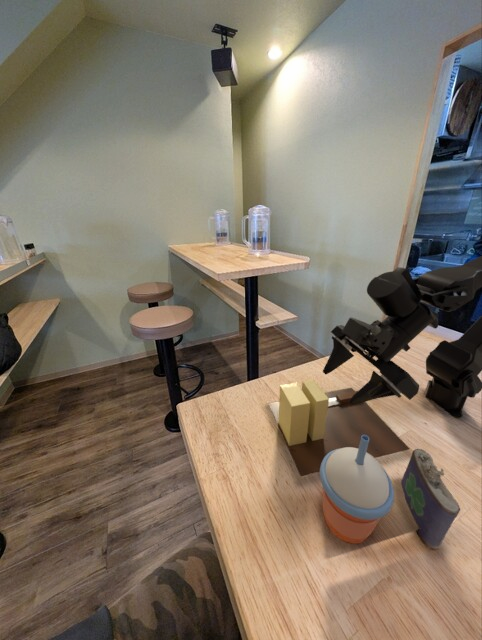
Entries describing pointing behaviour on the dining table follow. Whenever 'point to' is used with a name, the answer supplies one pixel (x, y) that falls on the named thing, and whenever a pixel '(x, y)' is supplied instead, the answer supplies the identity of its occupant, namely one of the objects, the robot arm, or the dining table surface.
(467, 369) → the robot arm
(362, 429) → the board
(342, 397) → the knife
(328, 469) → the cup with straw
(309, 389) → the block
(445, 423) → the dining table surface
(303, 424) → the butter block
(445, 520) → the flask
